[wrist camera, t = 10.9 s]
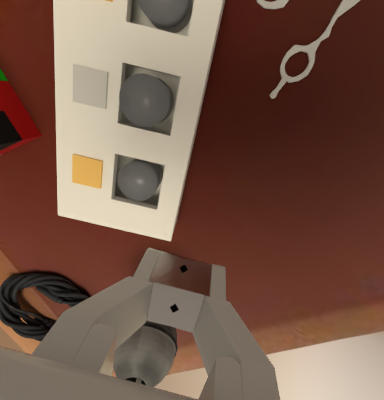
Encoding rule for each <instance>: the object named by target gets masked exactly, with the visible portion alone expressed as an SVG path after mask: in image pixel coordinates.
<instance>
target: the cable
mask: <svg viewBox="0 0 384 400" xmlns="http://www.w3.org/2000/svg"><path fill="white" fill-rule="evenodd" d="M14 286H15V287H14ZM33 286H35V287H36V289H37V290H38V291H40V292H41V293H42V294H44V295H45V296H47V297H48V298H50V299H51V300H52V301H54V302H58V303H59V304H62V303H65V304H68V305H69V306H71V307H73V306H75V305H77V304H79V303H81V302H82V301H84V300H86V299H88V298H89V297H88V296H87V295H85V294H82V293H81V292H80V291H79V290H78V289H77V288H75V286H74V285H73V284H72V283H71V282H70V281H68V280H67V279H65V278H62V277H59V276H52V275H49V274H42V273H40V274H36V273H30V274H24V275H22V274H19V275H14V276H11V277H9V278H7V279H6V280H5V281H4V282H3V283H2V285H1V287H0V320H1V321H2V322H3V323H4V324H5V325H7V326H9V327H11V328H12V329H13V330H14V331H15V332H16V333H17V334H19V335H20V336H22V337H25V338H31V339H35V340H38V341H42V340H43V339H44V337H45V336H46V335H47V333H48V332H49V331H50V329H51V328H52V326H53V325H54V324H55V322H56V321H54V320H52V319H49V320H48V319H44V318H42V317H40V316H38V315H36V314H34V313H31V312H28V311H24V310H22V309H21V307H20V305H19V303H18V300H17V291H18V290H20V289H23V288H28V287H33ZM13 287H14V288H13ZM12 288H13V289H12ZM11 289H12V290H11ZM28 315H31V316H33V317H36V318H35V319H33V318H31V317H29V316H28ZM20 317H21V318H23V320H24V321H25V322H26V323H27V324H26V323H24V322H22V320H21V319H20Z"/></svg>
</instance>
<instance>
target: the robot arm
mask: <svg viewBox="0 0 384 400" xmlns="http://www.w3.org/2000/svg"><path fill="white" fill-rule="evenodd" d="M146 321H150V322H154V323H158V324H163V325H167V326H171V327H174V328H178V329H181V330H185V331H188V332H192V333H193V336H194V339H195V341H196V344H197V347H198V350H199V352H200V355H201V358H202V360H203V363H204V366H205V369H206V371H207V374H208V378H207V381H206V383H205V385H204V388H203V390H202V393H201V395H200V397H199V399H194V398H191V397H187V396H183V395H179V394H176V393H172V392H168V391H165V390H161V389H157V388H153V387H150V386H146V385H142V384H139V383H135V382H131V381H127V380H124V379H120V378H116V377H113V376H112V373H113V364H114V354H115V350H116V349H117V348H118V347H119V346H120V345H121V344H122V343H124V342H125V341H126V340H127V339H128V338H129V337H130V336H131V335H132V334H133V333H135V332H136V331H137V330H138V329H139V328H140V327H141V326H142V325H143V324H144V323H146ZM0 400H280V397H279V391H278V386H277V380H276V375H275V368H274V367H273V365H272V364H271V362H270V361H269V359H268V358H267V356H266V355H265V353H264V352H263V350H262V349H261V347H260V346H259V344H258V343H257V341H256V340H255V339H254V337H253V336H252V334H251V333H250V331H249V330H248V328H247V327H246V325H245V324H244V322H243V321H242V319H241V318H240V316H239V315H238V313H237V312H236V310H235V309H234V307H233V306H232V305H231V303H230V302H227V301H226V268H225V267H224V266H219V265H215V264H209V263H205V262H201V261H197V260H193V259H189V258H185V257H182V256H178V255H174V254H171V253H167V252H164V251H159V250H156V249H152V248H148V249H147V250H146V252H145V254H144V256H143V258H142V260H141V262H140V264H139V266H138V268H137V270H136V272H135V274H134V276H133V277H130V276H128V277H127V278H125V279H123V280H121V281H119V282H117V283H116V284H114V285H112V286H110V287H108V288H106V289H104V290H103V291H101V292H99V293H97V294H95V295H93V296H92V297H90V298H88V299H86V300H84V301H82V302H81V303H79V304H77V305H75V306H73V307H71V308H69V309H68V310H66V311H64V312H63V313H62V314H61V316H60V317H59V318H58V320H57V321H56V322H55V324H54V325H53V326H52V328H51V329H50V331H49V332H48V333H47V335H46V336H45V337H44V339H43V340H42V341H41V343H40V344H39V345H38V347H37V348H36V349H35V351H34V352H33V353H32V355H31V354H27V353H23V352H20V351H16V350H12V349H9V348H5V347H1V346H0Z"/></svg>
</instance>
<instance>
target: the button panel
mask: <svg viewBox="0 0 384 400" xmlns="http://www.w3.org/2000/svg"><path fill="white" fill-rule="evenodd" d="M192 2H193V8H192V14H191V17H190V19H189V21H188V23H187V25H186V26H185V27H184V28H183V29H182V30H180V31H178V32H176V33H171V32H167V31H163V30H159V29H157V28H156V27H155V26H154V25H153V24H152V22H151V21H150V20H149V19H148V17H147V16H146V15H145V14H144V12H143V11H142V9H141V8H140V6H139V3H138V0H53V9H54V56H55V103H56V150H57V196H58V215H59V216H64V217H68V218H72V219H77V220H81V221H85V222H89V223H94V224H98V225H102V226H107V227H111V228H115V229H120V230H124V231H128V232H133V233H137V234H141V235H145V236H150V237H154V238H158V239H163V240H167V241H171V239H172V235H173V232H174V228H175V225H176V222H177V217H178V213H179V208H180V203H181V199H182V194H183V190H184V185H185V181H186V176H187V172H188V167H189V163H190V158H191V153H192V149H193V144H194V140H195V135H196V131H197V126H198V122H199V117H200V113H201V108H202V104H203V99H204V94H205V90H206V85H207V81H208V76H209V72H210V67H211V63H212V58H213V54H214V49H215V44H216V40H217V35H218V31H219V26H220V22H221V17H222V13H223V8H224V4H225V0H192ZM139 73H144V74H148V75H151V76H154V77H156V78H159V79H161V80H162V81H164V82H165V83H166V84H167V85H168V86H169V88H170V89H171V92H172V94H173V100H174V103H173V109H172V112H171V113H170V115H169V116H168V117H167V118H166V119H165V120H164V121H162V122H160V123H157V124H155V125H153V126H149V127H142V126H138V125H136V124H134V123H132V122H131V121H129V120H128V119H127V118H126V116H125V115H124V113H123V112H122V109H121V107H120V102H119V94H120V89H121V87H122V85H123V83H124V82H125V80H126V79H128V78H129V77H130V76H132V75H135V74H139ZM135 158H136V159H140V160H145V161H149V162H153V163H157V164H160V166H161V168H162V171H163V179H162V181H161V183H160V185H159V186H158V188H157V190H156V191H155V193H154V194H153V196H151V197H150V198H149V199H147V200H143V201H136V200H132V199H130V198H128V197H127V196H125V195H124V194H123V193H122V191H121V190H120V188H119V185H118V174H119V172H120V170H121V169H122V168H123V167H124V166H126V165H127V164H128V163H129V162H131V161H132V160H133V159H135Z"/></svg>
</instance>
